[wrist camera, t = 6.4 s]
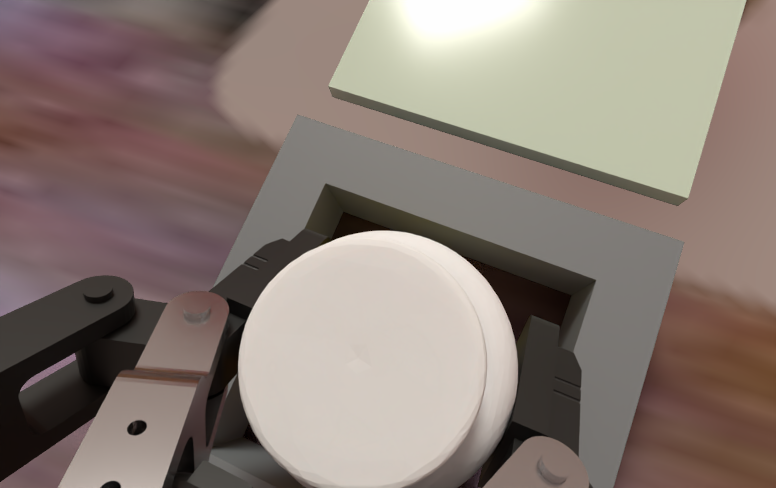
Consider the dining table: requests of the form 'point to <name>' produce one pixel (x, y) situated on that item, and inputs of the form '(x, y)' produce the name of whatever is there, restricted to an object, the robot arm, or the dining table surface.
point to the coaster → (553, 79)
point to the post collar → (481, 243)
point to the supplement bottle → (379, 365)
